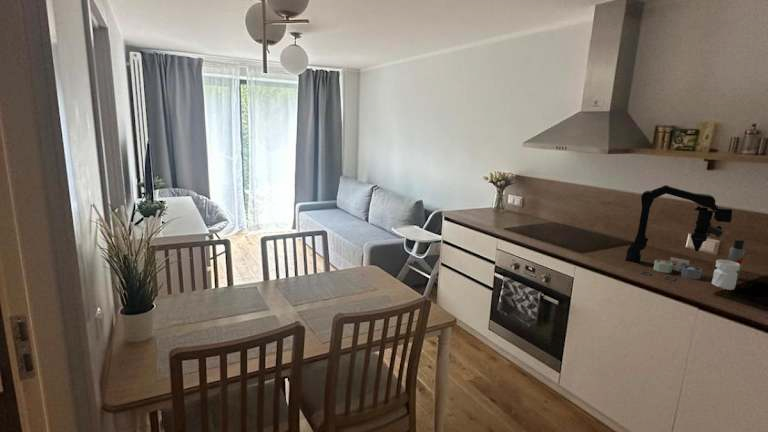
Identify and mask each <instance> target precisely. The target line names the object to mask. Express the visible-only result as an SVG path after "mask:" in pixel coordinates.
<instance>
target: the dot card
mask: <svg viewBox="0 0 768 432" xmlns="http://www.w3.org/2000/svg"><path fill="white" fill-rule="evenodd" d="M669 261H670V262H672V263H673V266H672V271H675V272H676V271H677V272H679V273H681V272H682V267H683V265H690V260H687V259H684V258H683V259H682V258H676V257H673V256H670V259H669Z"/></svg>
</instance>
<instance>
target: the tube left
mask: <svg viewBox="0 0 768 432" xmlns="http://www.w3.org/2000/svg"><path fill="white" fill-rule="evenodd" d="M661 261H665V262H667V263H668V264H662V263H659V262H661ZM653 264H654V265H653V270H654V271H657V272H659V273H666V274H671V273H672V272H673V270H672V266H673V263H672V262H670V260H665V259H655V260H654V262H653Z"/></svg>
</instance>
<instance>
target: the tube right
mask: <svg viewBox="0 0 768 432" xmlns="http://www.w3.org/2000/svg"><path fill="white" fill-rule="evenodd" d="M688 267H694V268H696V269H697V270H691V269H687V268H688ZM702 273H703V268H701V267H698V266H695V265H690V264H689V265H683V267H682V272H680V276H682V277H683V278H686V279H691V280H700V279H701V277H702V276H701V275H702Z"/></svg>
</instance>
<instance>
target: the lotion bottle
mask: <svg viewBox="0 0 768 432" xmlns="http://www.w3.org/2000/svg"><path fill="white" fill-rule="evenodd" d="M733 240H734V241H733V246H732V247H730V248H729V253H728V256H727V260H729V261H733V262H737V263H739V264H740V268H739V270H738V271H736V273H737V274H738V275H737V280H739V279H740V274H741V270H742V267H743V261H744V257H745V254H746V253H745V252H746V250H745V249H744V247H745V240H744V239H739V238H738V239H733Z"/></svg>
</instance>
